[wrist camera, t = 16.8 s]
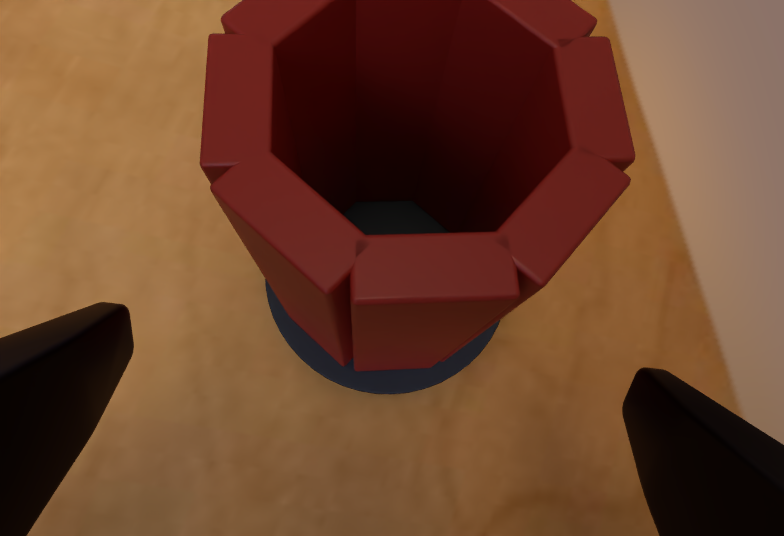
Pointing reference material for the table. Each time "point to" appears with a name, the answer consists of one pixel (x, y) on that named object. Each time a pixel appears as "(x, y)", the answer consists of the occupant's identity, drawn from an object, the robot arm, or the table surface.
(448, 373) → the mat
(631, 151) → the red octagonal container
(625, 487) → the table surface
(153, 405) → the table surface
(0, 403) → the robot arm
